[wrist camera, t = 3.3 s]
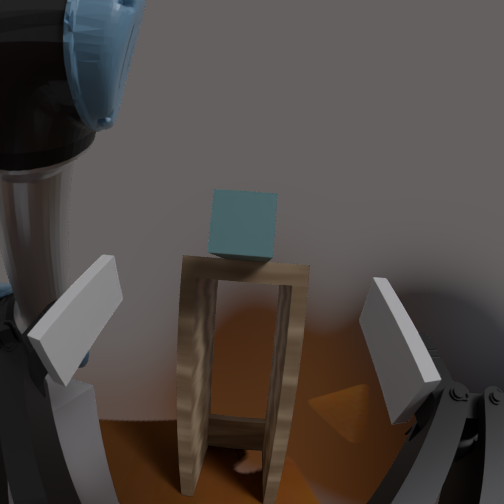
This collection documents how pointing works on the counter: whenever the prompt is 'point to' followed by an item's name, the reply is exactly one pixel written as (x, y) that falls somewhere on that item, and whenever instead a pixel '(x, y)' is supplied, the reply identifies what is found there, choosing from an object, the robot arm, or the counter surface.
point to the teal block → (243, 225)
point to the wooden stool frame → (201, 358)
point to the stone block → (81, 441)
